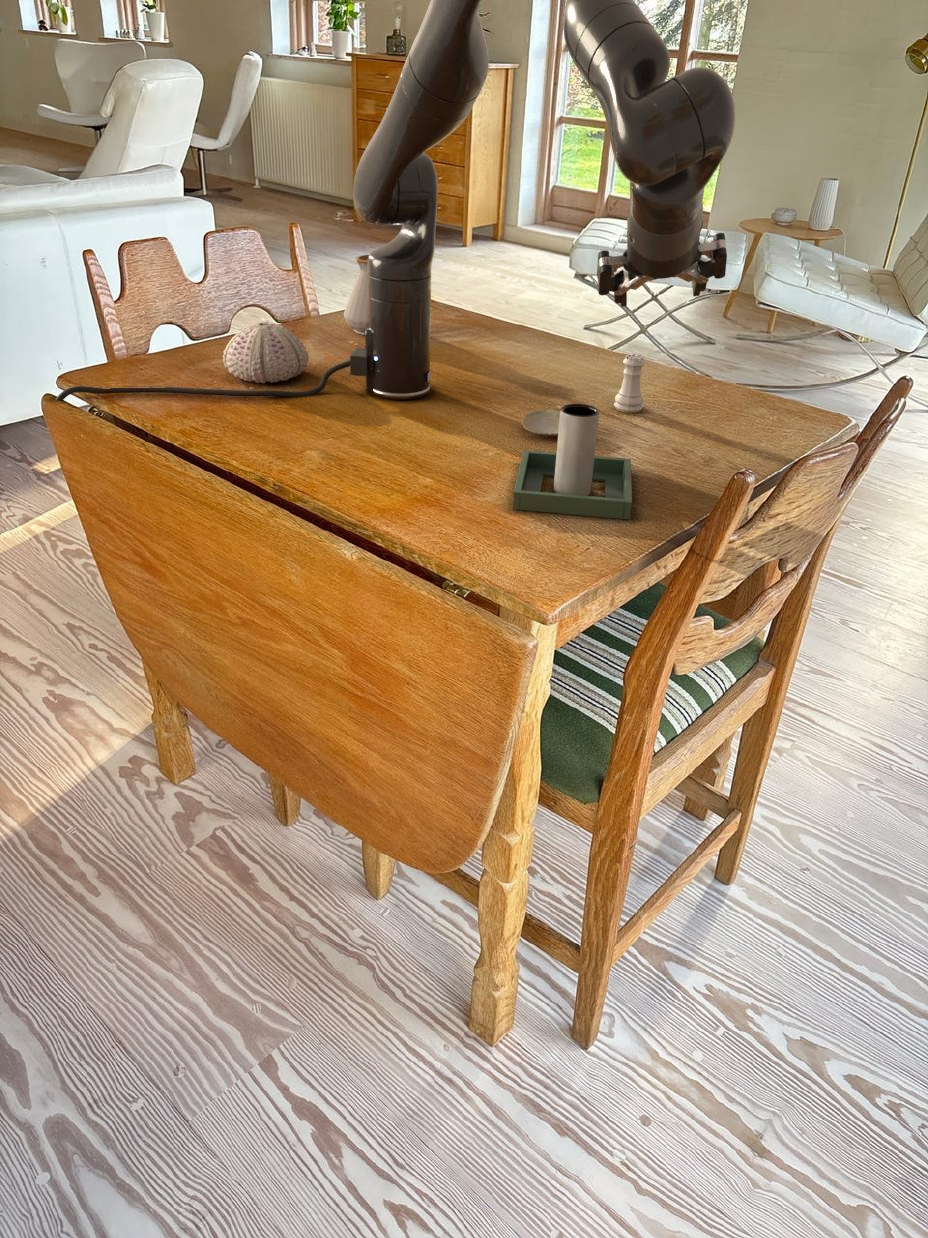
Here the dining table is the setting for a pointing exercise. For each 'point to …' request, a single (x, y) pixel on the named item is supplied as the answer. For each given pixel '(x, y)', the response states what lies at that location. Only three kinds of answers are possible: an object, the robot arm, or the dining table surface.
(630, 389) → the rook chess piece
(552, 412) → the seashell
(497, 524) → the dining table surface
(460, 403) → the dining table surface
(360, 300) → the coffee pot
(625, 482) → the green square frame
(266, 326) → the sea urchin shell
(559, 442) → the white hollow cylinder
